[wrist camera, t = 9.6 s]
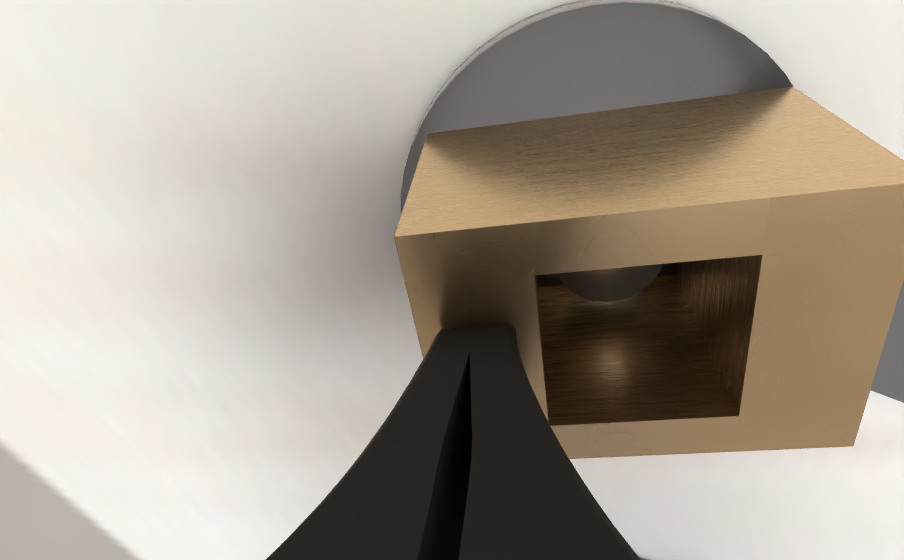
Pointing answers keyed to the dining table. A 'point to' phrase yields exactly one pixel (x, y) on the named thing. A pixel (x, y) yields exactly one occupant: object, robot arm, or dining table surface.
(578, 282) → the hub
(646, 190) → the wooden cubby box
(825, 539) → the dining table surface
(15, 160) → the dining table surface
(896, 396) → the mat
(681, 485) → the dining table surface
